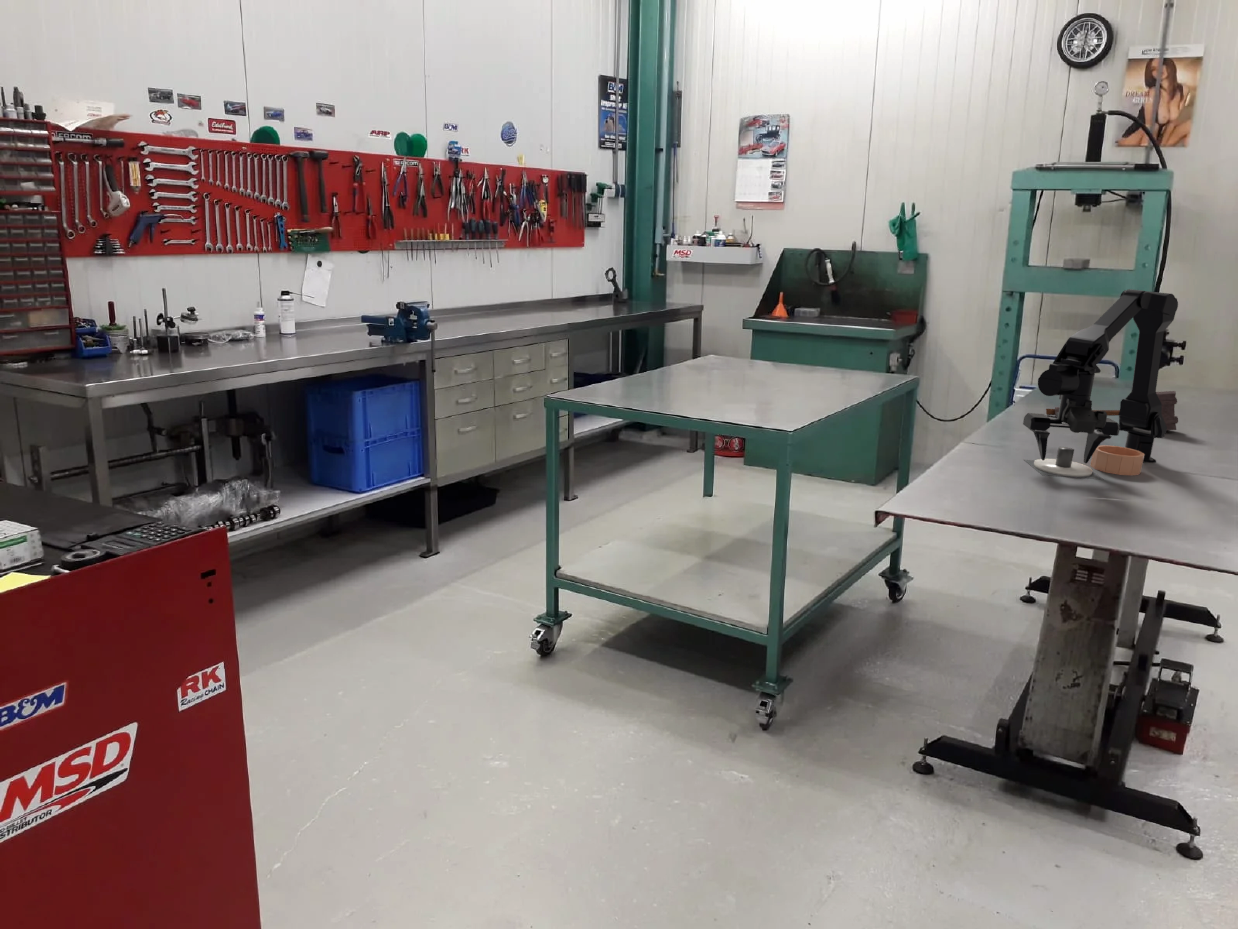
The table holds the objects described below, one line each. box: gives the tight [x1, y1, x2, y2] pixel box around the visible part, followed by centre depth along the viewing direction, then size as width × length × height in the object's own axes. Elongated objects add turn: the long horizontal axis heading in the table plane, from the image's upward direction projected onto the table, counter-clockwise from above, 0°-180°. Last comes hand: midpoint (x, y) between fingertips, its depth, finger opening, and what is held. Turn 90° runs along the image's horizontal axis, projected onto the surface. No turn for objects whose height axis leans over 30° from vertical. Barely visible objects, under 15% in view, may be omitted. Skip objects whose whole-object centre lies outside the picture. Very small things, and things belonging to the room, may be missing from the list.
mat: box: [1023, 459, 1105, 481], centre depth 204 cm, size 13×13×1 cm
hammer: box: [1045, 390, 1179, 431], centre depth 256 cm, size 7×33×10 cm, turn 60°
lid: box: [1034, 446, 1094, 478], centre depth 204 cm, size 12×12×5 cm
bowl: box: [1089, 444, 1145, 476], centre depth 206 cm, size 10×10×4 cm
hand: (1063, 461), depth 204 cm, fingers open, 9 cm apart
